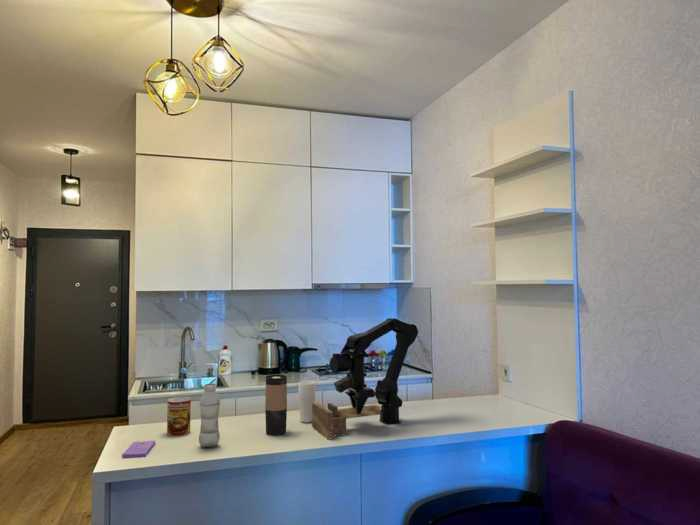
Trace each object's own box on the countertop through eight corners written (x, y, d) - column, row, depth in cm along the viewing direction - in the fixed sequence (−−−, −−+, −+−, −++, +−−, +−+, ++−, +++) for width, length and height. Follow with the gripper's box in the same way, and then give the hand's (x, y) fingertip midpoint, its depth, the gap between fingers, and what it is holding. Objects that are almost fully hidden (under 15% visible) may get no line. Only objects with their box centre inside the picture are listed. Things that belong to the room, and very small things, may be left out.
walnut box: (332, 425, 187) (332, 400, 187) (349, 436, 172) (348, 410, 173) (312, 427, 184) (312, 402, 184) (327, 439, 169) (327, 412, 170)
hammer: (374, 411, 189) (374, 398, 189) (382, 415, 183) (382, 401, 183) (327, 417, 181) (327, 403, 182) (334, 421, 175) (334, 407, 176)
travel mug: (290, 430, 180) (290, 375, 181) (280, 436, 172) (280, 378, 173) (271, 428, 182) (271, 374, 183) (261, 434, 175) (261, 377, 176)
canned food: (166, 437, 173) (166, 402, 173) (168, 431, 180) (168, 397, 181) (189, 435, 175) (190, 400, 175) (190, 429, 182) (191, 396, 183)
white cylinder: (313, 424, 188) (313, 384, 189) (296, 423, 190) (296, 383, 191) (317, 419, 195) (317, 381, 196) (301, 418, 196) (301, 380, 197)
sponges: (155, 446, 165) (155, 440, 165) (145, 458, 152) (145, 452, 152) (133, 447, 164) (133, 441, 164) (121, 460, 151) (121, 453, 151)
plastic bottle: (200, 443, 165) (201, 383, 166) (221, 443, 166) (222, 382, 167) (196, 449, 159) (197, 386, 160) (218, 449, 159) (218, 386, 160)
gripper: (327, 367, 189) (327, 409, 188) (346, 375, 172) (346, 421, 171) (354, 365, 193) (354, 406, 192) (375, 373, 176) (375, 417, 175)
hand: (357, 412), depth 183 cm, fingers closed on hammer, 3 cm apart
